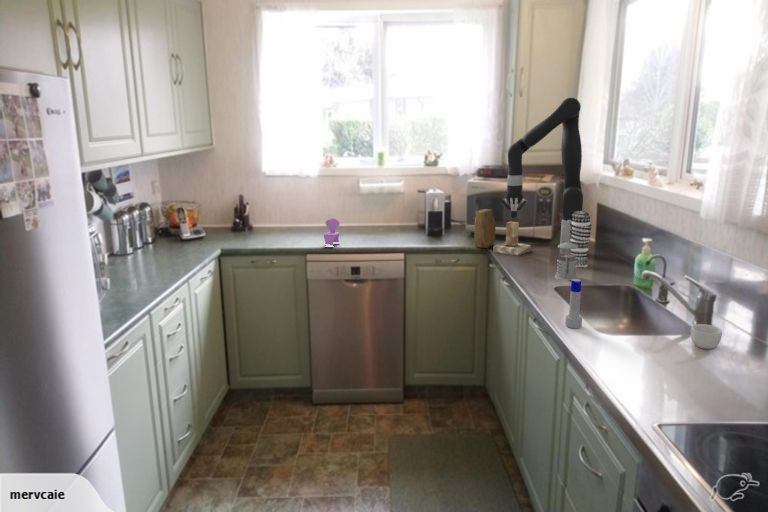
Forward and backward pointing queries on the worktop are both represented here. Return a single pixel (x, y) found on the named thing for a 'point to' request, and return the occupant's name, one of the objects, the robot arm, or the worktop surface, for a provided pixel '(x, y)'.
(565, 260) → the french press
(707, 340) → the teacup
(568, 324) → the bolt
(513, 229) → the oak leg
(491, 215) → the block
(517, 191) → the robot arm
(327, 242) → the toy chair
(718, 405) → the worktop surface
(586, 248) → the decorative candle
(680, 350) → the worktop surface
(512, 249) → the birch board
